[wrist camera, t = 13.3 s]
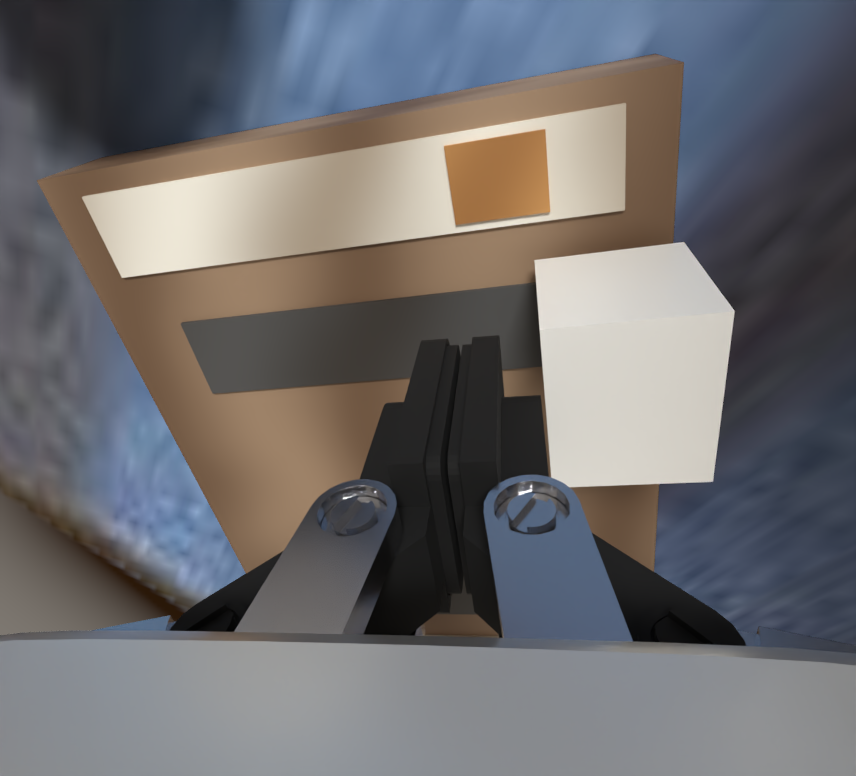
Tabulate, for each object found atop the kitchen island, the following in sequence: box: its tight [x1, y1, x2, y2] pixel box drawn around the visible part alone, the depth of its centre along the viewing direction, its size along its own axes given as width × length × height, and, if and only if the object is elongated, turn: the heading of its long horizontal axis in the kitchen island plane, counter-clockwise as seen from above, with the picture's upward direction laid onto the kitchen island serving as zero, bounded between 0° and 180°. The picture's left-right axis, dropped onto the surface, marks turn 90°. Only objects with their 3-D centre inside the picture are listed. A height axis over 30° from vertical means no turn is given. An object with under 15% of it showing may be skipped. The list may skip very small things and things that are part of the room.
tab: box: [534, 242, 735, 487], centre depth 11 cm, size 3×4×3 cm
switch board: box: [37, 54, 684, 638], centre depth 18 cm, size 14×20×3 cm
